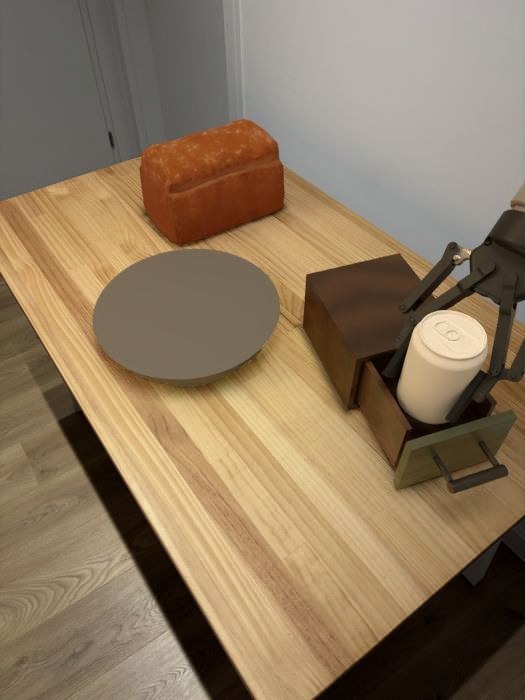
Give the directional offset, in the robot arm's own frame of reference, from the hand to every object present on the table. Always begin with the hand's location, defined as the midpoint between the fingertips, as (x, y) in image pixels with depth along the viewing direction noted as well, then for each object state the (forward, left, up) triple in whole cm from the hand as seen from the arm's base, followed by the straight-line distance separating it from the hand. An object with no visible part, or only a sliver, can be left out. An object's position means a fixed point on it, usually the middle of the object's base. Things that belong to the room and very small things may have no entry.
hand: (418, 397), depth 64 cm
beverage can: (+1, -3, -4) cm, 5 cm away
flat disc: (+30, +21, -11) cm, 38 cm away
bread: (+60, +9, -11) cm, 62 cm away
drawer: (0, -3, -10) cm, 10 cm away
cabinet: (+16, -3, -11) cm, 19 cm away
